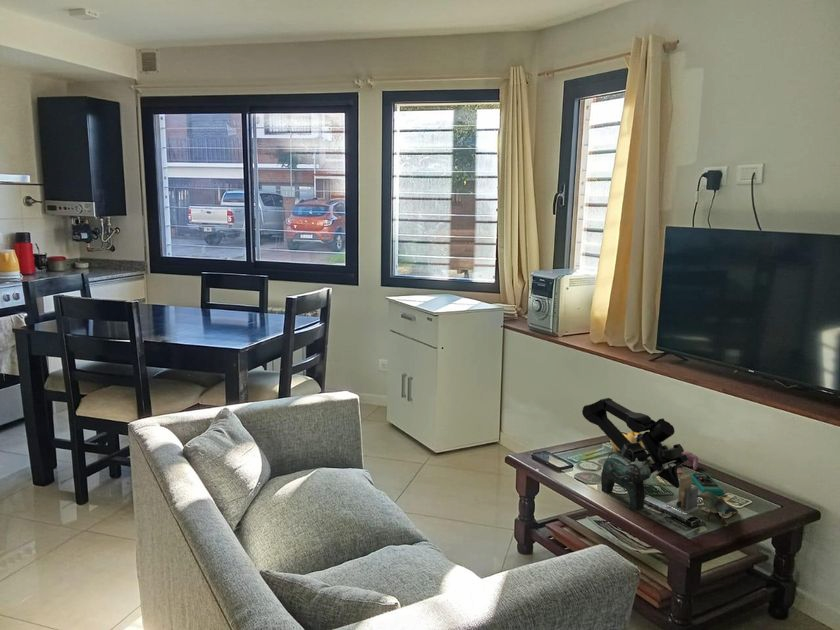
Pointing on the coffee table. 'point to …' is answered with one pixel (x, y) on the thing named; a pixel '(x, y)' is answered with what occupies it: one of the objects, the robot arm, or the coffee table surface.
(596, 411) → the robot arm
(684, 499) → the light brown wooden block
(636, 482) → the green animal figurine
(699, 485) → the digital multimeter
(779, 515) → the coffee table surface
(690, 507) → the gauge base
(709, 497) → the bird figurine
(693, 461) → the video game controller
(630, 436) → the dog
